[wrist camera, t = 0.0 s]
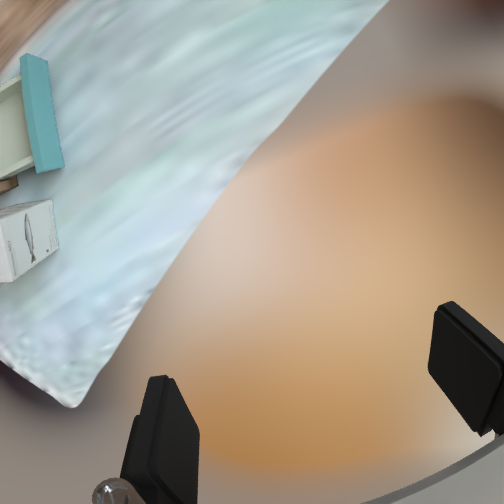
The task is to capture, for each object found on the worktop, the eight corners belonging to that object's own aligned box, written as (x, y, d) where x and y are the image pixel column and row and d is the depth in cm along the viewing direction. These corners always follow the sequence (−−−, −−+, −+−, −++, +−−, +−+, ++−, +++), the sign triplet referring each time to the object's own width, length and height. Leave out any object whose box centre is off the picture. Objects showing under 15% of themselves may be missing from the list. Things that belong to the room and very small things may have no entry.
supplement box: (61, 249, 39) (13, 285, 27) (23, 250, 38) (-26, 283, 26) (53, 197, 37) (0, 219, 25) (15, 202, 36) (-39, 224, 24)
